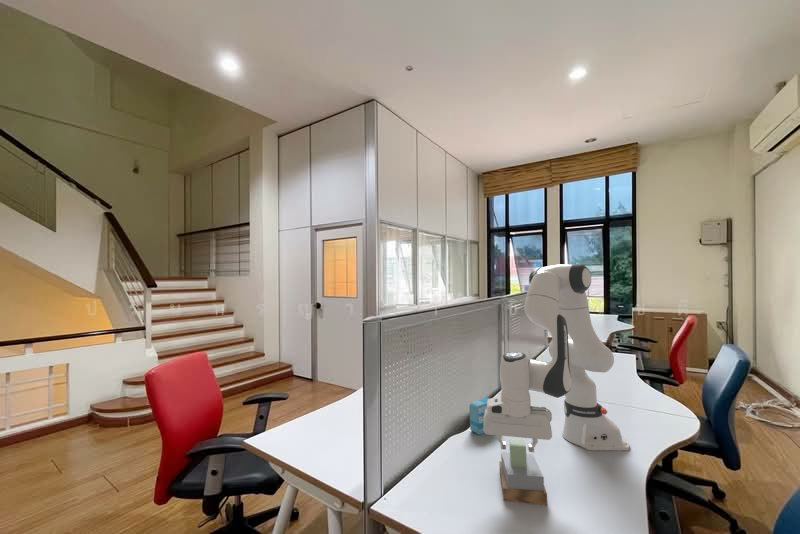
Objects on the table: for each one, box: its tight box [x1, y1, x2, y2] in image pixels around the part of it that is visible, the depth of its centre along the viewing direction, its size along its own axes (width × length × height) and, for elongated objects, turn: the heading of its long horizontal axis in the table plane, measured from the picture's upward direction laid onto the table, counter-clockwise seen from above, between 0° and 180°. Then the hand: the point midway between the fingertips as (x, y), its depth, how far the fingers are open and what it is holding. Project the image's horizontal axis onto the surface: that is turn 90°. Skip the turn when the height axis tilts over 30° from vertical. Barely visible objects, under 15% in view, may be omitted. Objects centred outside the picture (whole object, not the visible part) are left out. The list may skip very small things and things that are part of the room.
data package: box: [469, 397, 491, 435], centre depth 139 cm, size 12×4×12 cm, turn 122°
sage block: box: [509, 438, 527, 468], centre depth 101 cm, size 4×4×6 cm
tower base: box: [498, 461, 548, 507], centre depth 101 cm, size 12×14×4 cm
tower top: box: [500, 452, 545, 491], centre depth 100 cm, size 10×12×4 cm
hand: (517, 449), depth 101 cm, fingers open, 7 cm apart
